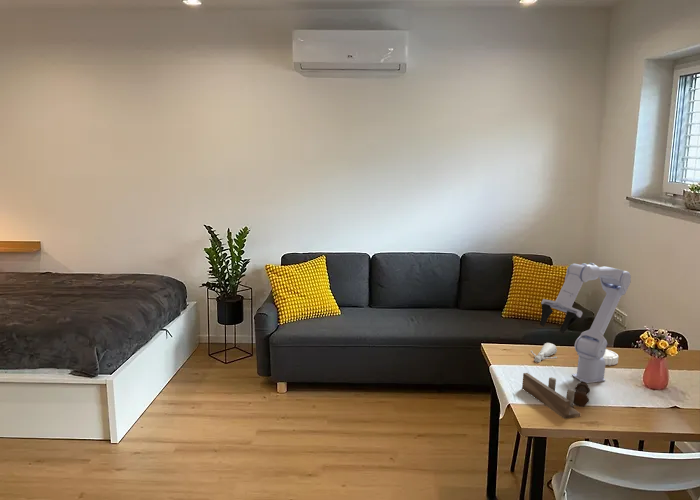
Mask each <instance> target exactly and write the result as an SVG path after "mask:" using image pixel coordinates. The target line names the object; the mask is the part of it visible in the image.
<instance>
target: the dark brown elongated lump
mask: <svg viewBox="0 0 700 500" xmlns="http://www.w3.org/2000/svg"><path fill="white" fill-rule="evenodd" d="M574 389H575V390H574V391H575V393H574V402H573V406H574V405H575V406H577V407H581V408H582V407H583V408H584V407H586V405H587V404H588V403H589V402H590V399H589V396H588V394H589V393H590V391H591V389H590V387H589V383H586V382H583V381H580V382H578V383H577V385H575V387H574Z"/></svg>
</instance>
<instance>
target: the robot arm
mask: <svg viewBox="0 0 700 500" xmlns="http://www.w3.org/2000/svg"><path fill="white" fill-rule="evenodd" d="M631 278H632V276H631V273H630V272H629V271H628V270H623V269H619V268H614V267H612V266H611V267H610V266H605V265H603V266H598V265H596V264H595V263H594V262H589V263H588V264H587V263H583V262H582V263H581V264H578V263H571V264H569V266H568V267H567V268H566V274H565V277H564V283H563V285H562V286H561V289H560V291H559V293H558V295H557V298H556V299H555V300H552V299H551V300H550V299H545V298H542V301H541V318H540V322H539V325H540V326H541V327H545V325H546V324H547V322H548V319H549V317H550V316H551V315H552V314H553V312H554V310H557V311H559V312H563V313H565V317H564V320H563V322H562V325H561V326H560V328H559V332H560V333H561V334H564V333H565V332H566V331H567V330H568V328H570V327H571V326H572V325H573V324H574V323H576V322H578V320H579V319H578V318H580V319H581V318H582V316H583V311H582V310H580V309H578V308H575V307H573V305H574V302H576V299H577V297H578V294H579V292H580V290H581V289H582V286H583V284H584V283H587V282H589V281H595V280H598V279H599V280H600V281H599V282H600V284H601V288H602V290H603V291H604V292H605V296H604V297H603V300H602V303H601V304H600V307H599V309H598V311H597V313H596V316H595V317H594V319H593V322H592V324H591V326H590V328H589V329H587V330H585V331H582V332H581V333H580V335H579V336H578V337H577V338H576V340H575V342H574V350H575V352H576V354H577V355H578V360H577V368H576V369H577V370H576V373H572V374H571V377H574V378H575V379H577V380H579V381H580V382H581V381H583V382H586V383H587V384H589V383H599V382H605V381H606V379H605V371H606V365H605V360H604V358H603V356H604V354H605V351H606V349H607V346H608V341H607V339H606V338H605V336H604V334H605V332H606V330H607V328H608V326H609V325H610V324H609V323H610V321H611V319H612V317H613V316H614V313H615V311H616V309H617V307H618V305H619V303H620V300H621V298H622V296H625V295H626V293H627V291H628V289H629V287H630V284H631V283H632V282H631V281H632V280H631ZM553 309H554V310H553Z"/></svg>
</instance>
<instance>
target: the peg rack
mask: <svg viewBox="0 0 700 500" xmlns="http://www.w3.org/2000/svg"><path fill="white" fill-rule="evenodd" d="M556 384H557V379H556V378H555V377H549V378H548V385H547V384H545V383H543V382H542V381H540V380H539V379H538V378H536V377H534V376H533V375H531V374H530V373H528V372H524V373H523V374H522V385H521V386H522V387H521V389H522V390H523V389H524V390H525V391H524V390H523V391H524V392H526V393H527V392H528V393H527V394H528V395H530V396H531V395H532V396H531V397H532V398H534V397H535V398H534V399H536V400H537V401H538V400H539V401H538V402H540V403H541V404H543V405H544V406H545V407H547V408H548V409H549V410H551V411H552V412H554V413H555V414H556V415H558V416H559V417H561V418H562V419H564V420H567V419H572V418H580V417H581V413H582V412H579V411H578V410H577V409H576V408H574V403H573V402H574V393H575V391H576V390H574V389H572V388H567V389H566V396H565V397H564V396H563V395H562V394H560V393H559V392H557V391H556Z"/></svg>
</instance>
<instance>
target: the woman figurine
mask: <svg viewBox="0 0 700 500" xmlns="http://www.w3.org/2000/svg"><path fill="white" fill-rule="evenodd" d="M557 352H558V349H557V346H556V344H554V343H551V342H546V343H543V345H542V347H541V349H540V351H539V353H538V354H537V355H536V353H534V352H533V350H530V353H531V354H532V355H533V356H534V358H533V360H534V362H535V363H541V361H544V360H551V359H558V356H552V355H554V354H556V353H557ZM550 356H552V357H550Z"/></svg>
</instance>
